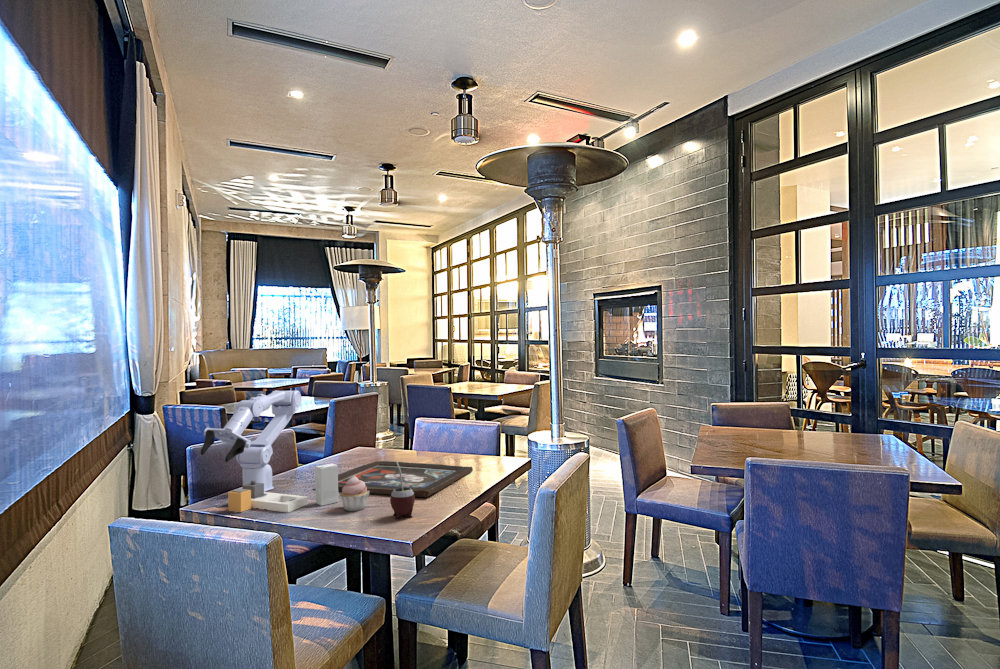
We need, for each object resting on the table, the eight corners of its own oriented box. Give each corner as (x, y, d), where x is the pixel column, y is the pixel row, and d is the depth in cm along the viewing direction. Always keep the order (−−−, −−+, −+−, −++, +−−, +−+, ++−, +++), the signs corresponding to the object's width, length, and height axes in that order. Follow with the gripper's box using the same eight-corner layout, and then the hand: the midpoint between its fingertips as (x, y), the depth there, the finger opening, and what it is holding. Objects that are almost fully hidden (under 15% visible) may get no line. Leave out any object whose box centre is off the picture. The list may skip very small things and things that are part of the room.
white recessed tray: (249, 497, 190) (249, 489, 190) (308, 504, 182) (307, 496, 182) (228, 505, 182) (227, 497, 182) (288, 512, 173) (287, 503, 173)
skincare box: (332, 499, 186) (332, 462, 186) (339, 502, 183) (338, 464, 183) (314, 503, 182) (314, 465, 182) (321, 506, 179) (320, 467, 179)
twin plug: (252, 500, 187) (251, 479, 187) (264, 501, 185) (263, 480, 185) (242, 503, 183) (242, 482, 183) (254, 505, 181) (254, 483, 181)
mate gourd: (406, 521, 163) (405, 469, 163) (383, 518, 166) (382, 467, 166) (420, 513, 170) (419, 463, 170) (397, 511, 173) (396, 461, 173)
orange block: (238, 507, 179) (238, 487, 179) (251, 509, 177) (250, 489, 177) (228, 511, 175) (228, 491, 175) (241, 513, 173) (240, 492, 173)
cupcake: (373, 503, 181) (372, 472, 181) (366, 512, 172) (365, 479, 172) (343, 504, 181) (343, 472, 181) (335, 513, 172) (334, 480, 172)
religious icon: (431, 500, 185) (431, 490, 185) (314, 491, 199) (314, 482, 199) (476, 472, 223) (476, 465, 223) (375, 467, 237) (375, 459, 237)
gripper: (214, 411, 185) (191, 440, 173) (258, 424, 186) (237, 454, 174) (213, 426, 188) (190, 455, 177) (256, 439, 190) (236, 469, 178)
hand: (214, 456), depth 176 cm, fingers open, 7 cm apart
